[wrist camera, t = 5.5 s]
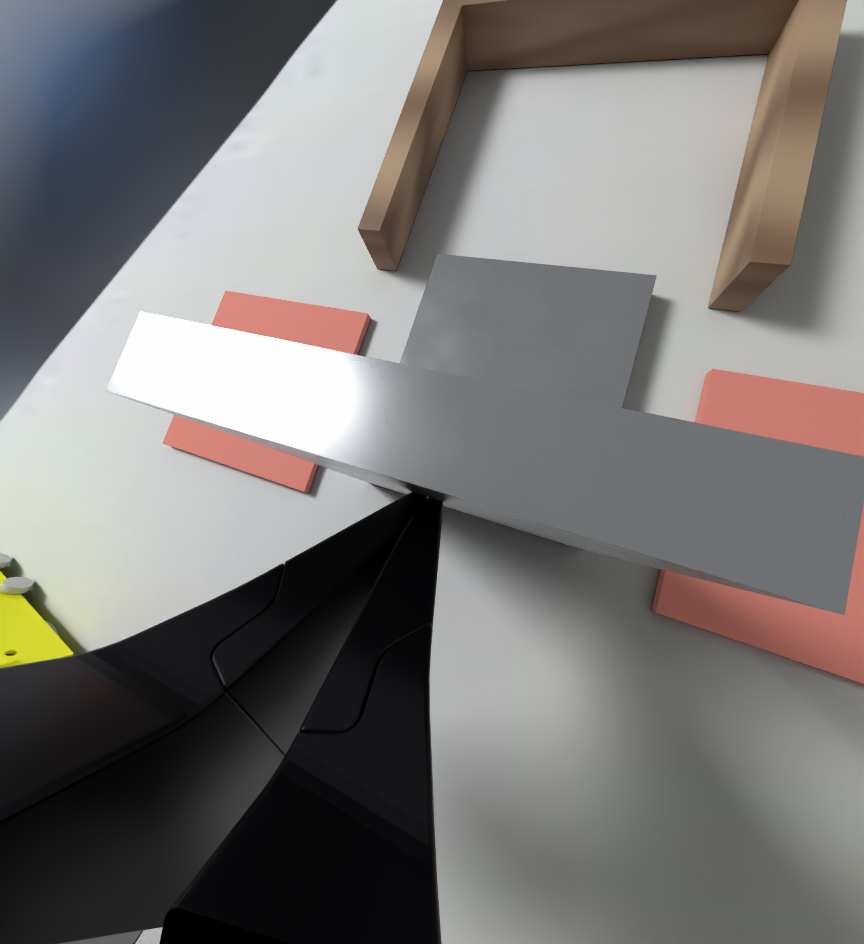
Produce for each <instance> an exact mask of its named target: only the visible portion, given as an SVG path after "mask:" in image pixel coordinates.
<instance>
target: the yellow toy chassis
mask: <svg viewBox="0 0 864 944" xmlns="http://www.w3.org/2000/svg"><path fill="white" fill-rule="evenodd" d="M10 560H11V558H10V557H9V556H7V555H5V554H0V569H1V568H4V567H6V566H7V565H8V563H9V561H10ZM32 584H33V582H32V580H30V579H28V578H24V577H11V578H6V577H5V576H4V575H3V574H2V572H1V571H0V668H2V667H8V666H14V665H20V664H26V663H32V662H38V661H44V660H50V659H56V658H62V657H67V656H73V654H74V653H73V652H72V651H71V650H70V648H69V647H68V646H67V645H66V644H65V643H64V642H63V641H62V640H61V638H60V637H59V635H58V632H57V629H56V628H55V626H54V625H53V624H52V623H50V622H48V621H44V619H43V618H42V617H41V616H40V615H39V614H38V613H37V612H36V610H35V609H34V608H33V607H32V606H31V605H30V604H29V603H28V602H27V600H26V599H25V598H24V597H23V596H22V595H21V594H22V593H25V592H27V591H29V589H30V588H31V586H32Z"/></svg>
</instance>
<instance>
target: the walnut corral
mask: <svg viewBox="0 0 864 944" xmlns="http://www.w3.org/2000/svg"><path fill="white" fill-rule="evenodd" d="M846 3H847V0H443V2H442V5H441V8H440V10H439V13H438V16H437V18H436V21H435V24H434V26H433V29H432V32H431V34H430V37H429V40H428V42H427V45H426V48H425V50H424V53H423V56H422V58H421V61H420V64H419V66H418V69H417V72H416V74H415V77H414V80H413V82H412V85H411V88H410V90H409V93H408V96H407V98H406V101H405V104H404V106H403V109H402V112H401V114H400V117H399V120H398V123H397V125H396V128H395V131H394V133H393V136H392V139H391V141H390V144H389V147H388V149H387V152H386V155H385V157H384V160H383V163H382V165H381V168H380V171H379V173H378V176H377V179H376V181H375V184H374V187H373V189H372V192H371V195H370V197H369V200H368V203H367V205H366V208H365V211H364V213H363V216H362V219H361V221H360V224H359V227H358V230H359V233H360V235H361V237H362V239H363V241H364V243H365V245H366V247H367V249H368V251H369V253H370V255H371V257H372V259H373V261H374V263H375V265H376V267H377V269H385V270H393V271H397V268H398V265H399V262H400V259H401V256H402V254H403V251H404V248H405V245H406V242H407V240H408V237H409V234H410V231H411V228H412V225H413V223H414V220H415V217H416V214H417V211H418V209H419V206H420V203H421V200H422V197H423V194H424V192H425V189H426V186H427V183H428V180H429V177H430V175H431V172H432V169H433V166H434V163H435V161H436V158H437V155H438V152H439V149H440V146H441V144H442V141H443V138H444V135H445V132H446V130H447V127H448V124H449V121H450V118H451V115H452V113H453V110H454V107H455V104H456V101H457V99H458V96H459V93H460V90H461V87H462V84H463V82H464V79H465V76H466V73H467V71H471V70H489V69H506V68H524V67H542V66H559V65H577V64H594V63H612V62H630V61H647V60H665V59H682V58H700V57H718V56H735V55H753V54H769V55H768V59H767V64H766V68H765V72H764V76H763V80H762V84H761V89H760V93H759V97H758V101H757V105H756V110H755V114H754V118H753V122H752V126H751V131H750V135H749V139H748V143H747V147H746V151H745V156H744V160H743V164H742V168H741V172H740V177H739V181H738V185H737V189H736V193H735V197H734V202H733V206H732V210H731V214H730V218H729V223H728V227H727V231H726V235H725V239H724V243H723V248H722V252H721V256H720V260H719V264H718V269H717V273H716V277H715V281H714V285H713V290H712V294H711V298H710V302H709V306H708V308H715V309H723V310H732V311H740V312H741V311H742V310H743V309H744V308H745V307H746V306H747V305H748V304H749V303H750V302H752V301H753V300H754V299H755V298H756V297H757V296H758V295H759V294H760V293H761V292H762V291H763V290H764V289H765V288H767V287H768V286H769V285H770V284H771V283H772V282H773V281H774V280H775V279H776V278H777V277H778V276H779V275H780V274H782V273H783V272H784V271H785V270H786V269H787V268H788V267H789V266H790V265H791V261H792V256H793V252H794V247H795V242H796V237H797V233H798V228H799V223H800V219H801V214H802V209H803V205H804V200H805V195H806V191H807V186H808V181H809V176H810V172H811V167H812V162H813V158H814V153H815V148H816V144H817V139H818V134H819V129H820V125H821V120H822V115H823V111H824V106H825V101H826V97H827V92H828V87H829V82H830V78H831V73H832V68H833V64H834V59H835V54H836V50H837V45H838V40H839V35H840V31H841V26H842V21H843V17H844V12H845V7H846Z"/></svg>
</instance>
